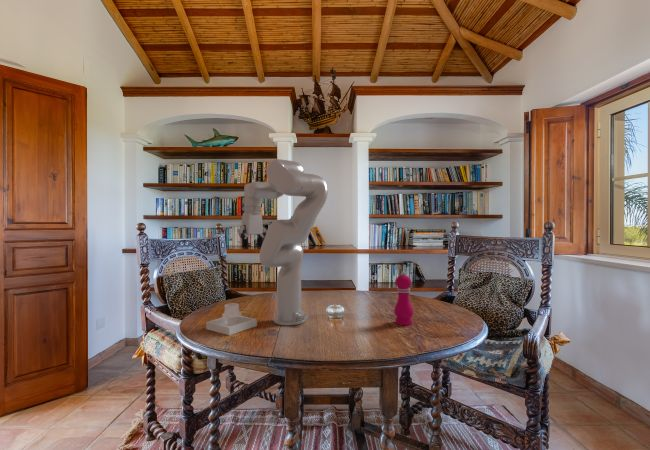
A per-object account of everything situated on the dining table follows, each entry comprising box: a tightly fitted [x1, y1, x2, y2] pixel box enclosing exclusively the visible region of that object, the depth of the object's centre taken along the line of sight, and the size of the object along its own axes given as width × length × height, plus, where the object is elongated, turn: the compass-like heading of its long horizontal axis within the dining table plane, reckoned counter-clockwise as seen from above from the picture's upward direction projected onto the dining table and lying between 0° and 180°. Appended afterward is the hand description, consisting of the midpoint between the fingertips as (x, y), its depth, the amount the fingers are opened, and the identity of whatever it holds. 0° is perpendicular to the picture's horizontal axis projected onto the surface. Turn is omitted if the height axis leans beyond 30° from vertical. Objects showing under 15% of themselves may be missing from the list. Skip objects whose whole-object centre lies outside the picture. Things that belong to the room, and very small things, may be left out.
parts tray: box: [205, 315, 258, 336], centre depth 128 cm, size 13×13×3 cm
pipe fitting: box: [221, 302, 242, 327], centre depth 128 cm, size 6×7×8 cm
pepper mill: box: [393, 270, 414, 326], centre depth 131 cm, size 7×7×20 cm
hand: (252, 247), depth 158 cm, fingers open, 9 cm apart
